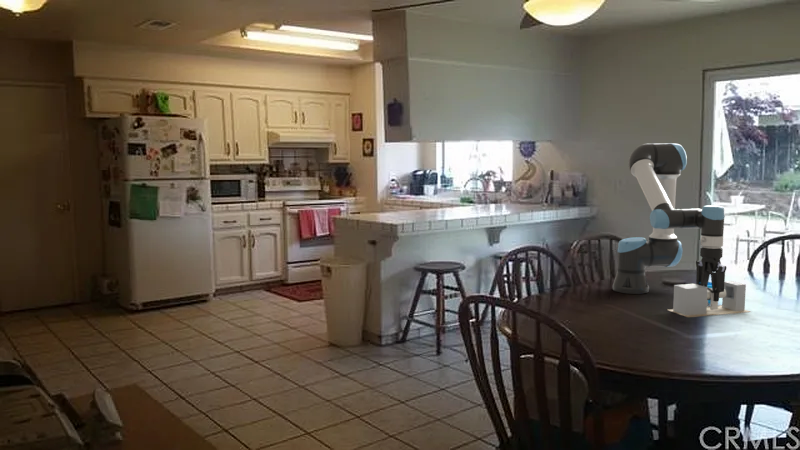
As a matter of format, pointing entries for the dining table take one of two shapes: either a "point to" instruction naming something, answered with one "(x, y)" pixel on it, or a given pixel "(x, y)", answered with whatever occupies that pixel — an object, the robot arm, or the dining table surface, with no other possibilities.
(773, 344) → the dining table surface
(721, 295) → the tube
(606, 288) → the dining table surface
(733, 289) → the socket
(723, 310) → the mount board
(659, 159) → the robot arm
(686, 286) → the sleeve
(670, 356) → the dining table surface
